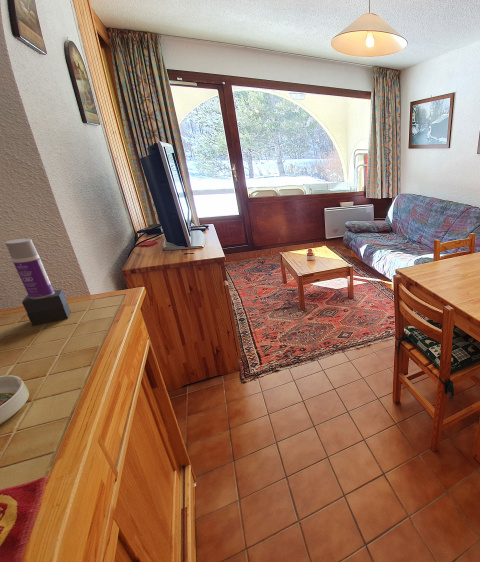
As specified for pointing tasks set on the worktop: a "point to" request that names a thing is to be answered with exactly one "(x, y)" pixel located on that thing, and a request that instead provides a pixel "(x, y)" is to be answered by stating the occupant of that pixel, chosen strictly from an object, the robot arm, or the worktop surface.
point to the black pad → (49, 315)
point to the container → (30, 268)
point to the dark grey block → (45, 302)
